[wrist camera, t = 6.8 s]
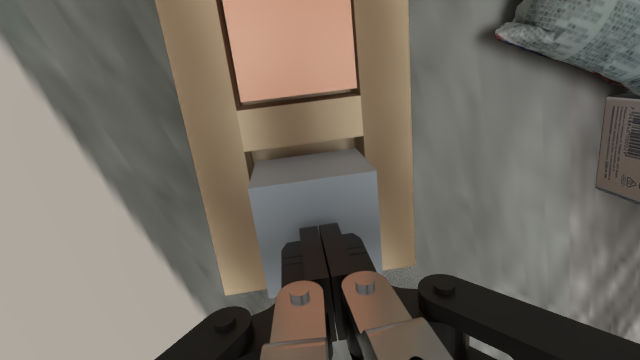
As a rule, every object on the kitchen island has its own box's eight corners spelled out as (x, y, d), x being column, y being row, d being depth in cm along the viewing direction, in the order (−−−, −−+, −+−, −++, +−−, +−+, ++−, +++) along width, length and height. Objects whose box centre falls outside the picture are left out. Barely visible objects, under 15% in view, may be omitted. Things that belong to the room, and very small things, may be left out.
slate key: (355, 148, 17) (376, 170, 13) (362, 237, 19) (383, 279, 15) (255, 161, 17) (247, 188, 13) (271, 251, 18) (268, 298, 15)
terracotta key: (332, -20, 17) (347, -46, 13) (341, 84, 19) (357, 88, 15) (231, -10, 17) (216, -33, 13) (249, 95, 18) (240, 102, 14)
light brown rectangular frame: (365, -265, 16) (397, -391, 12) (391, 229, 24) (415, 265, 20) (126, -251, 15) (64, -380, 11) (236, 253, 24) (225, 295, 19)
